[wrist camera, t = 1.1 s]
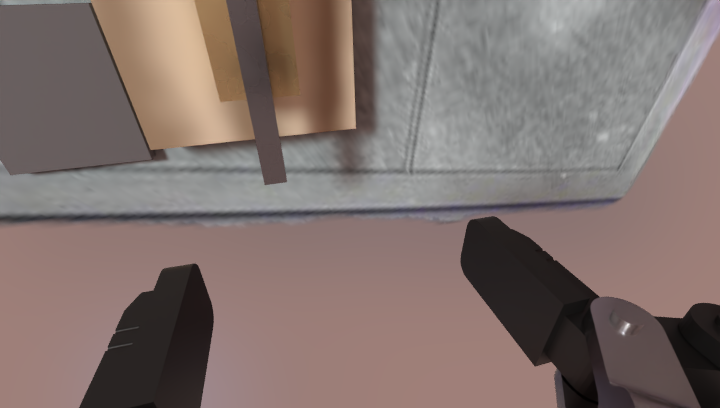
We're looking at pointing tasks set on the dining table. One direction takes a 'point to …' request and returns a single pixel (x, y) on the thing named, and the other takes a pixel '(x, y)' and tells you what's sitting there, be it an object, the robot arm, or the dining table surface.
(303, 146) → the dining table surface
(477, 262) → the robot arm
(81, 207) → the dining table surface
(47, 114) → the mat
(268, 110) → the clamp lever
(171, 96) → the base plate
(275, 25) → the brown rectangular block
